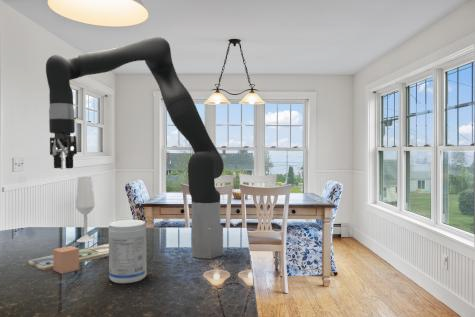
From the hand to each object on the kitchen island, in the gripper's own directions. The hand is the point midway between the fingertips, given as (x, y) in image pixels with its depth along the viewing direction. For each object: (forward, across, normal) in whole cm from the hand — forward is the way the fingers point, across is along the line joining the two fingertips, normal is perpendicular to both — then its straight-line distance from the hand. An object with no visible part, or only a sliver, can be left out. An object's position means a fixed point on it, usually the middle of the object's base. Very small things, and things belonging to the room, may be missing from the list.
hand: (63, 168), depth 124 cm
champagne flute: (+28, +14, -14) cm, 35 cm away
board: (+28, -7, -1) cm, 29 cm away
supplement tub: (+29, -37, 0) cm, 47 cm away
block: (+28, -17, +8) cm, 34 cm away
